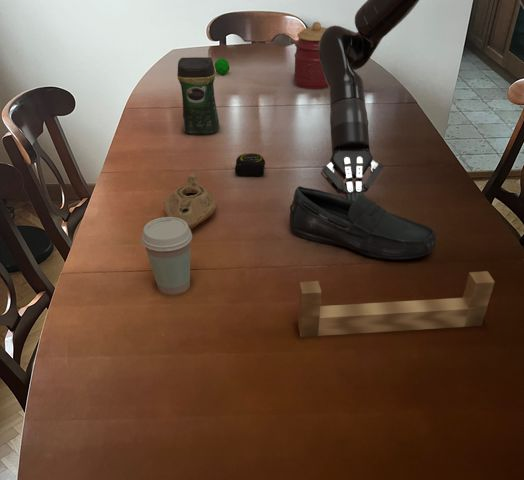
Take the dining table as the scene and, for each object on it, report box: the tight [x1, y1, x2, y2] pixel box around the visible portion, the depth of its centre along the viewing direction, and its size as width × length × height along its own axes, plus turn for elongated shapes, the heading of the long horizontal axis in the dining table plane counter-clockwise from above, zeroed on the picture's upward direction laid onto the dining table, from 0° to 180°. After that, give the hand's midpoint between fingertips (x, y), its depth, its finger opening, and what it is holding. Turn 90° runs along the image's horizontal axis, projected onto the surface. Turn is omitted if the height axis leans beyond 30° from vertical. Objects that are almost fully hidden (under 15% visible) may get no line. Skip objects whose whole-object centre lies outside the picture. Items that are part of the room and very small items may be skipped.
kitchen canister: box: [293, 21, 329, 90], centre depth 183 cm, size 13×13×18 cm
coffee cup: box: [141, 216, 193, 296], centre depth 103 cm, size 8×9×12 cm
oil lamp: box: [163, 173, 217, 230], centre depth 122 cm, size 11×15×8 cm
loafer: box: [289, 185, 437, 261], centre depth 113 cm, size 10×29×10 cm, turn 69°
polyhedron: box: [213, 57, 230, 76], centre depth 195 cm, size 5×5×5 cm
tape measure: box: [234, 152, 266, 177], centre depth 140 cm, size 7×7×4 cm
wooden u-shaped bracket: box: [297, 270, 495, 338], centre depth 95 cm, size 30×3×9 cm, turn 94°
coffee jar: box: [177, 56, 220, 136], centre depth 155 cm, size 10×8×19 cm
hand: (354, 212), depth 119 cm, fingers closed
